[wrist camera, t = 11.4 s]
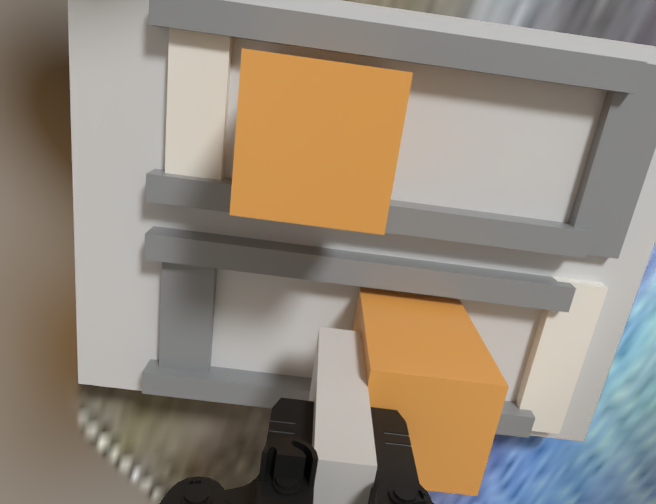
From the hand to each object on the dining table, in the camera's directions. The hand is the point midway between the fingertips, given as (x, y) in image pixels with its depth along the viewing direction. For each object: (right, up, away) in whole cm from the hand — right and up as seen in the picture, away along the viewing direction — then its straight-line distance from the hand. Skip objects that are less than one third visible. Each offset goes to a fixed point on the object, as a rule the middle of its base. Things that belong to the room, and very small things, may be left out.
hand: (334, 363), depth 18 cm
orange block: (-1, +8, 0) cm, 9 cm away
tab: (+3, 0, +3) cm, 4 cm away
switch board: (+1, +5, +3) cm, 6 cm away
